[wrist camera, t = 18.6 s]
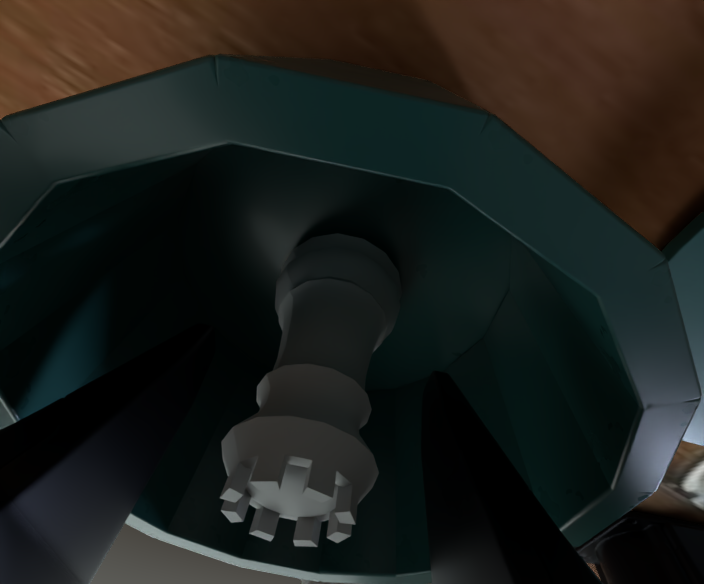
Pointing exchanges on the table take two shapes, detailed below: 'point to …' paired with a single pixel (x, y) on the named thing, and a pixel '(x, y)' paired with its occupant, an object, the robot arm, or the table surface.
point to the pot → (353, 220)
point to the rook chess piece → (315, 394)
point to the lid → (691, 304)
